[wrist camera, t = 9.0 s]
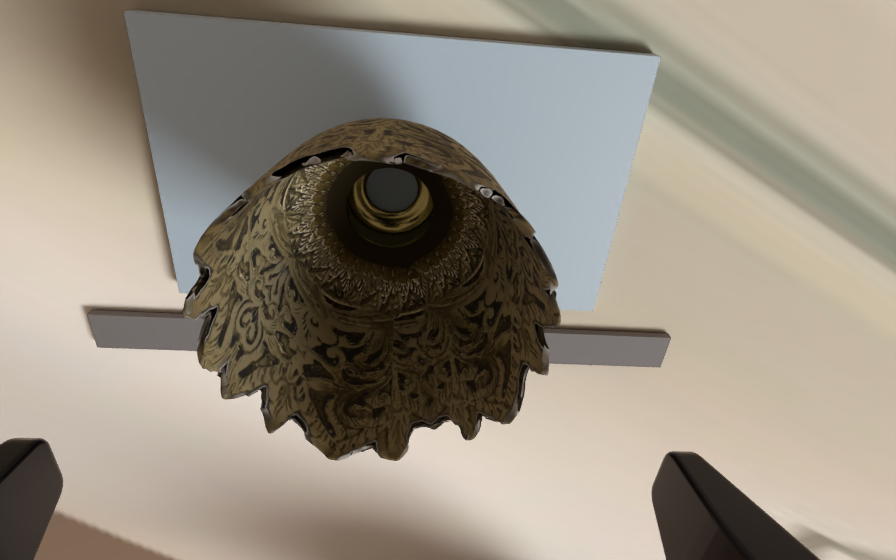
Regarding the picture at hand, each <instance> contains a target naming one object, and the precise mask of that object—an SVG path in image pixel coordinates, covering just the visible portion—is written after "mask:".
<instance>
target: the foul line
mask: <svg viewBox="0 0 896 560" xmlns="http://www.w3.org/2000/svg"><path fill="white" fill-rule="evenodd" d="M87 316H88V319H89V322H90V325H91V329H92V332H93V335H94V338H95V342H96V345H97V347H101V348H129V349H158V350H186V351H197V342H198V338H199V335H200V332H201V328H202V325H203V323H204V320H205V318H206V316H202V318H201V319H196V320H192V319H190V318H185V317H184V316H183V314H178V313H153V312H129V311H104V310H91V311H90V312H89V313H88V314H87ZM543 330H544V335H545V339H546V342H547V344H548V347H549V363H553V364H581V365H609V366H638V367H661V364H662V361H663V359H664V356H665V353H666V350H667V348H668V345H669V342H670V339H671V337H670V336H669V334H668V333H644V332H619V331H595V330H570V329H546V328H543Z"/></svg>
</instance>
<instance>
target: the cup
mask: <svg viewBox="0 0 896 560" xmlns="http://www.w3.org/2000/svg"><path fill="white" fill-rule="evenodd" d="M382 168H395V169H400V170H404V171H406V172H409V173H411V174H412V175H413V176H414V177H415V179H416V182H417V187H418V191H417V196H416V198H415V200H414V202H413V203H412V204H411V205H410V206H409V207H407V208H406V209H404V210H401V211H397V212H389V211H385V210H382V209H380V208H378V207H377V206H375V205H374V204H373V203H372V201H371V200H370V198H369V196H368V193H367V181H368V178H369V176H370V175H371V173H372V172H373V171H374V170H377V169H382ZM535 233H536V232H535V230H534V228H533V227H532V226H531V224H530V223H529V222H528V221H527V220H526V219H525V217H524V216H522V215H521V214H520V212H519V211H518V209H517V208H516V206H515V205H514V204H513V202H512V201H511V199H510V198H509V197H508V195H507V194H506V192H505V191H504V190H503V188H502V187H501V186H500V184H499V183H498V181H497V180H496V179H495V177H494V176H493V175H492V174H491V173H490V171H489V170H488V169H487V168H486V167H485V166H484V165H483V164H482V163H481V161H480V160H479V159H478V158H477V157H476V156H474V155H473V154H472V153H471V152H470V151H469V150H467V149H466V148H465V147H464V146H463V145H461V144H460V143H458V142H457V141H456V140H454V139H453V138H451V137H449V136H448V135H446V134H444V133H442V132H440V131H438V130H436V129H433V128H431V127H428V126H425V125H423V124H419V123H415V122H411V121H407V120H401V119H393V118H373V119H362V120H357V121H352V122H348V123H344V124H341V125H338V126H335V127H333V128H330V129H328V130H326V131H324V132H322V133H320V134H318V135H316V136H314V137H312V138H311V139H309V140H307V141H306V142H304V143H303V144H301V145H300V146H298V147H297V148H296V149H294V150H293V151H292V152H291V153H289V154H288V155H287V156H285V157H284V158H283V159H282V160H281V161H279V162H278V163H277V164H276V165H275V166H273V167H272V168H271V169H270V170H269V171H268V172H266V173H265V174H264V175H263V176H262V177H261V178H260V179H258V180H257V181H256V182H255V183H254V184H253V185H252V186H251V187H249V188H248V189H247V190H245V191H244V192H243V193H242V194H241V195H240V196H239V197H238V198H237V199H236V200H235V201H234V202H233V203H232V204H231V205H230V206H229V207H227V208H226V209H225V210H224V211H223V212H222V213H221V214H220V215H219V216H218V217H217V218H216V219H215V220H214V221H213V222H212V223H211V224H210V225H209V227H208V228H207V229H206V230H205V232H204V233H203V235H202V236H201V238H200V239H199V241H198V243H197V245H196V247H195V249H194V253H193V259H194V262H195V265H197V266H198V270H199V274H200V276H199V278H198V280H197V282H196V283H195V284H194V286H193V287H192V288H191V289H190V291H189V293H188V295H187V297H186V299H185V303H184V308H183V311H182V313H183V316H184V317H185V318H190V319H192V320H196V319H201V318H202V316H206V318H205V320H204V323H203V325H202V328H201V332H200V335H199V338H198V342H197V354H198V360H199V363H200V365H201V366H202V368H203V369H207V370H209V371H210V372H212V371H216V372H218V375H217V376H219V377H221V396H222V398H223V399H234V398H238V397H241V396H244V395H247V396H250V395H252V394H254V393H256V392H258V390H261V392H262V393H261V394H262V395H261V399H262V404H261V411H262V413H263V416H264V420H265V426H266V429H267V431H268V433H269V434H271V433H273V432H274V431H276V430H277V429H279V428H280V427H281V426H282V425H284V424H285V423H286V422H287V421H288V420H293V421H294V422H295V423H297V424H298V425H299V426H300V427H301V428H302V429H303V431H304V434H305V438H306V440H307V441H309V442H310V443H311V444H313V445H314V446H315V447H317V448H318V449H319V450H320V451H321V452H322V453H323V454H324V455H325V456H326V457H327V458H328V459H331V460H342V459H345V458H347V457H349V456H351V455H353V454H356V453H358V452H360V451H361V452H363V451H365V450H368V449H372V448H373V449H374V450H375V452H377V453H378V455H379V456H380V457H381V458H384V459H388V460H394V461H398V460H400V459H401V458H402V457H403V456H404V455H405V454H406V452H407V451H408V443H409V438H410V436H411V434H412V432H413V430H414V428H415V427H417V428H420V427H428V428H430V429H433V430H434V429H437V428H438V427H439V426H441V425H442V424H443V423H444V422H449V421H447V420H451V421H452V422H453V423H454V424H455V425H458V426H459V427H460V430H461V434H462V436H463V438H464V439H465V440H472V439H474V438H475V437H476V435H477V434H478V432H479V430H480V427H481V421H482V416H484V417H485V418H486V417H488V418H486V419H489V420H492V421H495V422H500V423H501V424H510V423H511V422H512V421H513V419H514V418H515V417H516V415H517V414H518V413H519V411H520V408H521V405H522V401H523V398H524V391H525V381H526V376H527V373H528V370H529V368H530V370H531V371H535V372H536V373H538V374H542V375H545V376H546V375H548V371H549V347H548V344H547V342H546V339H545V335H544V330H543V327H545V326H547V327H549V328H552V327H557V326H559V324H560V322H561V316H560V310H559V307H558V304H557V301H556V293H557V292H556V291H555V290H556V289H557V287H558V280H557V277H556V274H555V271H554V269H553V267H552V265H551V263H550V261H549V259H548V257H547V255H546V253H545V251H544V250H543V248H542V246H541V245H540V243H539V242H538V240H537V239H536V237H535V236H534V234H535ZM442 421H444V422H442ZM415 429H416V428H415Z"/></svg>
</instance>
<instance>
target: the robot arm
mask: <svg viewBox="0 0 896 560" xmlns="http://www.w3.org/2000/svg"><path fill="white" fill-rule="evenodd" d="M62 488H63V477H62V474H61V471H60V469H59V467H58V464H57V462H56V459H55V457H54V455H53V452H52V450H51V447H50V445H49V443H48V442H47V441H45V440H44V439H41V438H13V439H10V440H7V441H5V442H3V443H2V444H0V560H34V558H35V556H36V554H37V551H38V549H39V546H40V544H41V541H42V539H43V536H44V534H45V531H46V529H47V527H48V524H49V522H50V520H51V517H52V515H53V512H54V510H55V507H56V505H57V503H58V500H59V498H60V495H61V492H62ZM652 502H653V506H654V511H655V515H656V519H657V523H658V527H659V531H660V536H661V540H662V544H663V548H664V552H665V556H666V560H820V559H819V558H818V557H817V556H815V555H814V554H813V553H812V552H811V551H810V550H809V549H807V548H806V547H805V546H804V545H803V544H802V543H800V542H799V541H798V540H797V539H796V538H795V537H793V536H792V535H791V534H790V533H789V532H788V531H787V530H785V529H784V528H783V527H782V526H781V525H780V524H778V523H777V522H776V521H775V520H774V519H773V518H771V517H770V516H769V515H768V514H767V513H766V512H765V511H763V510H762V509H761V508H760V507H759V506H758V505H756V504H755V503H754V502H753V501H752V500H751V499H749V498H748V497H747V496H746V495H745V494H744V493H743V492H741V491H740V490H739V489H738V488H737V487H736V486H734V485H733V484H732V483H731V482H730V481H729V480H727V479H726V478H725V477H724V476H723V475H722V474H720V473H719V472H718V471H717V470H716V469H715V468H714V467H712V466H711V465H710V464H709V463H708V462H707V461H705V460H704V459H703V458H702V457H701V456H699V455H698V454H696V453H694V452H677V451H672V452H669V453H668V454H666V455H665V457H664V459H663V462H662V464H661V466H660V469H659V471H658V474H657V476H656V478H655V481H654V483H653V486H652Z"/></svg>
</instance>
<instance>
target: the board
mask: <svg viewBox="0 0 896 560" xmlns="http://www.w3.org/2000/svg"><path fill="white" fill-rule="evenodd" d="M124 17H125V22H126V27H127V32H128V37H129V42H130V47H131V52H132V57H133V62H134V67H135V72H136V77H137V82H138V87H139V93H140V98H141V103H142V108H143V113H144V118H145V123H146V128H147V133H148V138H149V143H150V148H151V153H152V158H153V163H154V168H155V173H156V178H157V183H158V188H159V193H160V198H161V203H162V208H163V213H164V218H165V223H166V228H167V233H168V238H169V243H170V248H171V253H172V258H173V263H174V268H175V273H176V278H177V283H178V288H179V293H189V291H190V289H191V288H192V287H193V286H194V284H195V283H196V282H197V280H198V278H199V276H200V274H199V270H198V266H197V265H195V262H194V259H193V253H194V249H195V247H196V245H197V243H198V241H199V239H200V238H201V236H202V235H203V233H204V232H205V230H206V229H207V228H208V227H209V225H210V224H211V223H212V222H213V221H214V220H215V219H216V218H217V217H218V216H219V215H220V214H221V213H222V212H223V211H224V210H225V209H226V208H227V207H229V206H230V205H231V204H232V203H233V202H234V201H235V200H236V199H237V198H238V197H239V196H240V195H241V194H242V193H243V192H244V191H245V190H247V189H248V188H249V187H251V186H252V185H253V184H254V183H255V182H256V181H257V180H258V179H260V178H261V177H262V176H263V175H264V174H265V173H266V172H268V171H269V170H270V169H271V168H272V167H273V166H275V165H276V164H277V163H278V162H279V161H281V160H282V159H283V158H284V157H285V156H287V155H288V154H289V153H291V152H292V151H293V150H294V149H296V148H297V147H298V146H300V145H301V144H303V143H304V142H306V141H307V140H309V139H311V138H312V137H314V136H316V135H318V134H320V133H322V132H324V131H326V130H328V129H330V128H333V127H335V126H338V125H341V124H344V123H348V122H352V121H357V120H362V119H373V118H393V119H401V120H407V121H411V122H415V123H419V124H423V125H425V126H428V127H431V128H433V129H436V130H438V131H440V132H442V133H444V134H446V135H448V136H449V137H451V138H453V139H454V140H456V141H457V142H458V143H460V144H461V145H463V146H464V147H465V148H466V149H467V150H469V151H470V152H471V153H472V154H473V155H474V156H476V157H477V158H478V159H479V160H480V161H481V163H482V164H483V165H484V166H485V167H486V168H487V169H488V170H489V171H490V173H491V174H492V175H493V176H494V177H495V179H496V180H497V181H498V183H499V184H500V186H501V187H502V188H503V190H504V191H505V192H506V194H507V195H508V197H509V198H510V199H511V201H512V202H513V204H514V205H515V206H516V208H517V209H518V211H519V212H520V214H521V215H522V216H524V217H525V219H526V220H527V221H528V222H529V223H530V224H531V226H532V227H533V228H534V230H535V232H536V233H535V234H534V236H535V237H536V239H537V240H538V242H539V243H540V245H541V246H542V248H543V250H544V251H545V253H546V255H547V257H548V259H549V261H550V263H551V265H552V267H553V269H554V271H555V274H556V277H557V280H558V287H557V289H556V290H555V291H556V292H557V293H556V301H557V304H558V307H559V310H579V311H593V310H594V306H595V302H596V298H597V295H598V291H599V287H600V283H601V280H602V276H603V272H604V268H605V265H606V261H607V257H608V253H609V250H610V246H611V242H612V238H613V234H614V231H615V227H616V223H617V219H618V216H619V212H620V208H621V204H622V201H623V197H624V193H625V189H626V186H627V182H628V178H629V174H630V171H631V167H632V163H633V159H634V155H635V152H636V148H637V144H638V140H639V137H640V133H641V129H642V125H643V122H644V118H645V114H646V110H647V107H648V103H649V99H650V95H651V91H652V88H653V84H654V80H655V76H656V73H657V69H658V65H659V61H660V58H661V57H660V56H658V55H656V54H651V53H639V52H627V51H615V50H603V49H591V48H580V47H568V46H556V45H544V44H532V43H520V42H508V41H497V40H485V39H473V38H461V37H449V36H437V35H425V34H413V33H402V32H390V31H378V30H366V29H354V28H342V27H330V26H318V25H307V24H295V23H283V22H271V21H259V20H247V19H235V18H224V17H212V16H200V15H188V14H176V13H164V12H152V11H140V10H128V11H124ZM417 191H418V187H417V182H416V179H415V177H414V176H413V175H412V174H411V173H409V172H406V171H404V170H400V169H395V168H382V169H377V170H374V171H373V172H372V173H371V175H370V176H369V178H368V181H367V193H368V196H369V198H370V200H371V201H372V203H373V204H374V205H375V206H377V207H378V208H380V209H382V210H385V211H389V212H397V211H401V210H404V209H406V208H407V207H409V206H410V205H411V204H412V203H413V202H414V200H415V198H416V196H417Z"/></svg>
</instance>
